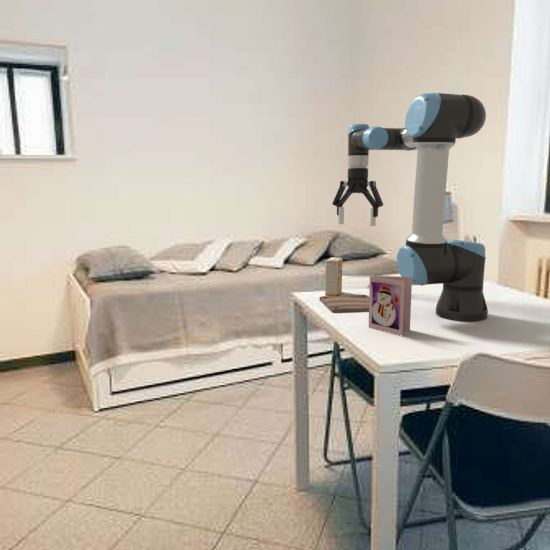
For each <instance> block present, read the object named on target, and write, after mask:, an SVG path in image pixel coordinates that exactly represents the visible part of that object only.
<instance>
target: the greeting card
mask: <svg viewBox="0 0 550 550" xmlns="http://www.w3.org/2000/svg"><path fill="white" fill-rule="evenodd" d="M412 287H413V285H412V277H401V276H395V275H394V276H390V275H388V276H387V275H369V293H368V294H369V295H368V296H369V311H368V328H369V329H374V330H376V331H380V330H381V331H380V332H384V331H386V332H385V333H388V332H390V333H389V334H392V333H394V334H393V335H396V334H398V335H397V336H400V335H402V336H403V331H404V330H403V329H407V330H406V331H410V330H411V316H412V315H411V313H412V311H411V310H412Z"/></svg>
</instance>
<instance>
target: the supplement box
mask: <svg viewBox="0 0 550 550" xmlns="http://www.w3.org/2000/svg"><path fill="white" fill-rule="evenodd" d="M324 270H325V271H324V272H325V273H324V275H325V279H324V281H325V282H324V284H325V285H324V287H325V288H324V296H338V295H339V294H341V293H342V292H343V291H342V290H343V289H342V287H343V285H342V284H343V257H329V258H327V259H325V269H324Z"/></svg>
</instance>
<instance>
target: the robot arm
mask: <svg viewBox="0 0 550 550" xmlns="http://www.w3.org/2000/svg"><path fill="white" fill-rule="evenodd" d="M486 119H487V112H486V108H485V106H484V104H483V102H482V101H481V100H480V99H478V98H477V97H475V96H472V95H470V94H455V93H443V92H442V93H441V92H427V93H421V94H419V95H418V96H416V97H415V98H414V99H413V100H412V102H411V103H410V104H409V106H408V108H407V111H406V114H405V120H404V126H405V127H402V128H400V127H399V128H398V127H397V128H394V127H381V126H371V127H370V125H369V124H367V123H355V124H351V125H349V127H348V133H347V137H348V138H347V141H348V142H347V148H348V149H347V150H348V151H347V153H348V154H347V167H349V168H347V181H346V180H341V181H340V182H339V187H338V189H337V192H336V195H335V197H334V199H333V201H332V202H331V204H332V205H333V206H335V207H336V215H337V216H338V225H344V224H345V207H344V206H343V205H344V204H345V203H346V202H347V200H349V197H351V195H353V194H361V195H363V196H364V197H365V198H366V200H367V201H368V202H369V204H370V206H372V207H371V208H370V220H369V221H370V224H369V225H370V227H375V226H376V224H377V223H376V222H377V221H376V220H377V217H379V208H381V207H383V206H384V202H383V200H382V198H381V195H380V193H379V191H378V187H377V181H376V180H370V181H369V180H368V178H369V168H368V167H369V154H370V151H408V152H409V151H416V150H417V151H416V152H417V153H416V164H415V165H416V166H415V167H416V169H415V180H414V181H415V183H414V196H413V211H412V212H413V213H412V225H411V226H412V228H411V233H410V235H408V236H407V237H406V238H405V245H403V246H402V247H401V246H400V248H399V249H398V252H397V254H396V266H397V267H396V268H397V270H398V273H399V275H400V277H412V286H422V287H423V286H426V285H439V284H442V291H441V293H440V296H439V298H438V301H437V303H436V306H435V315H437V317H440V318H444V319H447V320H454V321H461V322H464V321H465V322H475V321H477V322H478V321H484V320H485V319H487V318H488V314H489V311H488V310H489V309H488V306H487V302H486V299H485V295H484V281H485V265H486V258H487V257H486V246H485V245H484V244H483V243H480V242H474V241H467V240H461V239H460V240H459V239H453V238H452V239H451V238H446V237H445V236H444V235H443V229H444V214H445V204H446V194H447V193H446V191H447V181H448V179H447V178H448V166H449V156H450V150H451V148H453V147H454V146H455V145H456V139H463V138H469V137H473V136H474V135H476V134H477V133H479V132H480V131H481V129H482V128H483V127H484V125H485V122H486ZM346 187H348V188H347V190H346ZM368 187H369V188H370V190H369V188H368ZM345 190H346V191H345ZM344 192H345V193H344ZM371 193H372V194H371Z"/></svg>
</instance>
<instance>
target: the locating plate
mask: <svg viewBox="0 0 550 550" xmlns="http://www.w3.org/2000/svg"><path fill="white" fill-rule="evenodd" d="M319 301H320V302H321V303H322V304H323V305H324V306H325V307H326V308H327V309H328V310H329V311H330V312H331V313H351V312H352V313H355V312H356V313H357V312H358V313H359V312H369V295H367V294H359V295H358V294H357V295H355V294H354V295H339V296H338V295H337V296H328V295H323V296H319Z"/></svg>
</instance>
